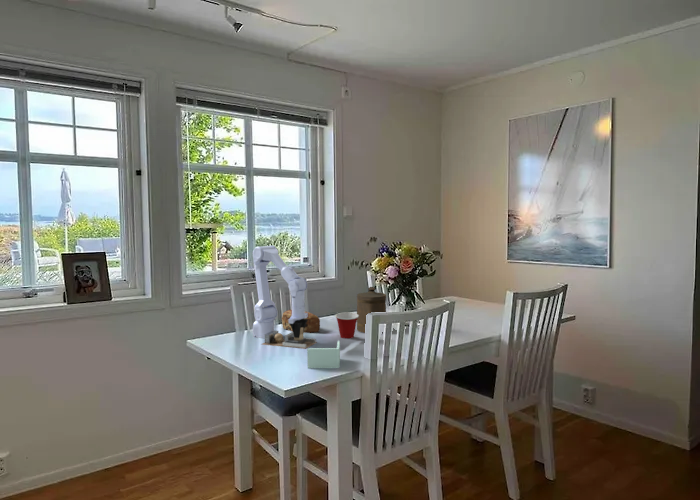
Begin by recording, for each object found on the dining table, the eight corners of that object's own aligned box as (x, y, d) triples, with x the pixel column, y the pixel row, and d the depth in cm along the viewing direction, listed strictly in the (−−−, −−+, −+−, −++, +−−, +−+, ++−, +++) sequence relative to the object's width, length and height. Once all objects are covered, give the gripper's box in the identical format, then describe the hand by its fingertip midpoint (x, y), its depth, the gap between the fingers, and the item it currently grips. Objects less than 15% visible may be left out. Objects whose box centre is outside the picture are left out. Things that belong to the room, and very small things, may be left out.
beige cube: (284, 344, 217) (284, 328, 216) (292, 341, 223) (292, 325, 223) (298, 346, 214) (298, 330, 214) (305, 342, 221) (305, 326, 220)
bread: (281, 329, 254) (281, 310, 253) (297, 326, 261) (297, 307, 261) (304, 335, 241) (304, 315, 240) (321, 331, 248) (320, 312, 247)
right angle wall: (340, 359, 200) (339, 340, 200) (339, 368, 188) (338, 348, 188) (310, 359, 201) (310, 341, 200) (307, 368, 189) (307, 349, 188)
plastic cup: (338, 343, 224) (338, 317, 223) (333, 338, 234) (332, 313, 233) (361, 342, 227) (361, 316, 226) (355, 336, 237) (354, 311, 236)
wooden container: (391, 328, 252) (391, 285, 251) (377, 334, 240) (377, 289, 238) (366, 325, 260) (365, 284, 259) (351, 331, 248) (350, 287, 246)
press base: (260, 347, 219) (260, 335, 218) (274, 341, 230) (274, 329, 229) (305, 352, 210) (305, 339, 210) (317, 345, 222) (317, 333, 221)
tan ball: (272, 342, 221) (272, 333, 220) (277, 340, 224) (277, 331, 224) (280, 343, 219) (280, 334, 219) (285, 341, 223) (284, 332, 223)
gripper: (298, 309, 209) (299, 341, 210) (313, 303, 222) (314, 333, 223) (283, 308, 211) (284, 339, 212) (299, 302, 225) (300, 332, 226)
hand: (298, 336), depth 218 cm, fingers closed on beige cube, 3 cm apart
